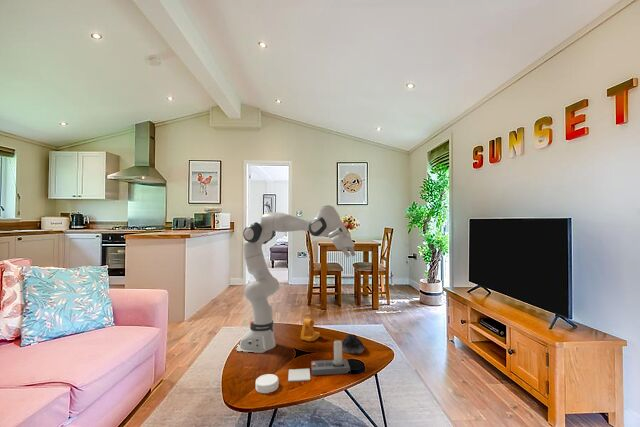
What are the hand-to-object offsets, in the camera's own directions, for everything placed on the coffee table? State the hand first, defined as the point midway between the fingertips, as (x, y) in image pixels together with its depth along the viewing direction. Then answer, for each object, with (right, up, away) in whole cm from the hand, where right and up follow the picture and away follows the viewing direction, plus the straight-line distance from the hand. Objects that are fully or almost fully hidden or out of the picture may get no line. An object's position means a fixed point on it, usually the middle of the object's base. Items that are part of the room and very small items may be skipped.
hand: (351, 256), depth 149 cm
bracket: (-22, -56, +32) cm, 68 cm away
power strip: (-11, -54, -8) cm, 56 cm away
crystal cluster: (+2, -55, +14) cm, 57 cm away
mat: (-26, -54, -13) cm, 61 cm away
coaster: (-39, -54, -22) cm, 70 cm away
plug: (-7, -54, -7) cm, 55 cm away
